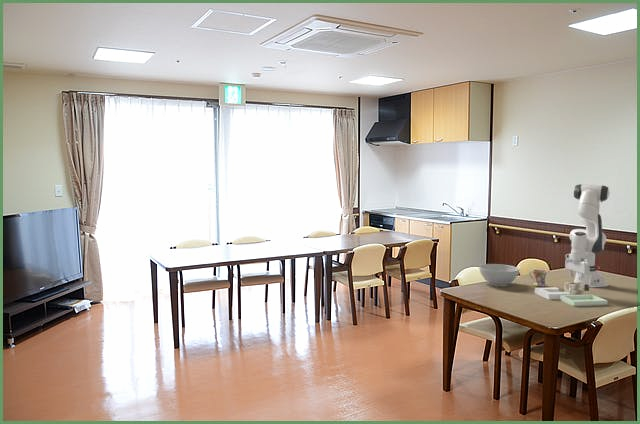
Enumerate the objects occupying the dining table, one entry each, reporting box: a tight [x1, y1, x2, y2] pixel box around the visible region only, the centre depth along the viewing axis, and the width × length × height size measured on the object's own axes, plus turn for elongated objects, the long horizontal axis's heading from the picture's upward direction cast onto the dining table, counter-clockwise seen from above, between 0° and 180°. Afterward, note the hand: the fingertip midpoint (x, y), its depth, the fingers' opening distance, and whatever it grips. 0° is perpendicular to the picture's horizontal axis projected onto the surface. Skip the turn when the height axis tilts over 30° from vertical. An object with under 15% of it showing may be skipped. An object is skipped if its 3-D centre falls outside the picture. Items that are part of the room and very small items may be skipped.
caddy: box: [563, 281, 590, 295], centre depth 335 cm, size 15×6×8 cm, turn 97°
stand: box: [534, 286, 571, 301], centre depth 332 cm, size 15×16×4 cm
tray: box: [559, 294, 608, 307], centre depth 317 cm, size 22×14×3 cm, turn 98°
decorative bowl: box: [478, 263, 520, 288], centre depth 361 cm, size 27×27×12 cm
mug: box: [529, 269, 548, 288], centre depth 359 cm, size 12×9×11 cm
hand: (576, 278), depth 333 cm, fingers open, 8 cm apart
